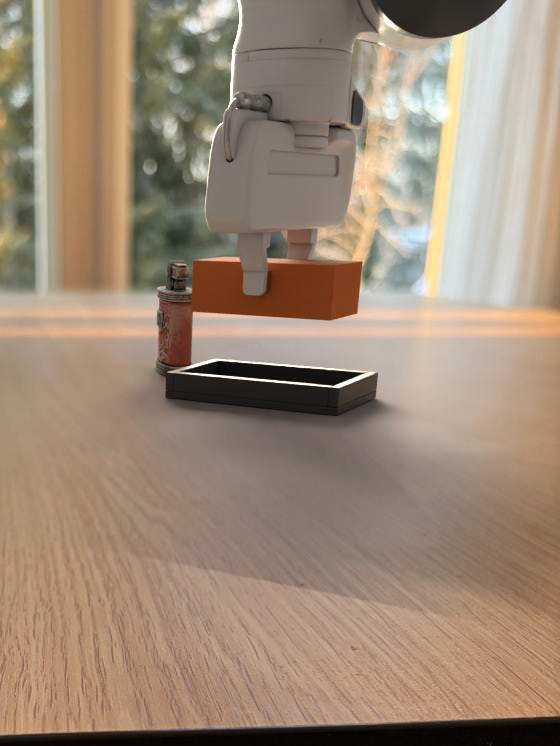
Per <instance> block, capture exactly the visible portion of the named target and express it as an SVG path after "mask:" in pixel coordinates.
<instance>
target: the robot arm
mask: <svg viewBox="0 0 560 746" xmlns="http://www.w3.org/2000/svg"><path fill="white" fill-rule="evenodd" d="M507 1H508V0H237V3H238V11H239V23H238V29H237V33H236V38H235V41H234V44H233V49H232V54H231V55H232V58H231V77H230V78H231V79H230V97H229V99H230V100H229V104H228V108H226V109H225V110H224V113H223V120H222V123H220V124H218V126H217V127H216V129H215V132H214V135H213V138H212V143H211V148H210V153H209V154H210V155H209V163H208V171H207V179H206V188H205V189H206V190H205V201H204V202H205V203H204V217H205V221H206V225H207V228H208V231H209V232H210V233H212V234H237V239H236V240H237V241H236V242H237V243H236V249H237V253H238V254H237V255H238V257H239V258H240V262H241V266H242V269H243V293H244V294H246V295H254V296H261V295H265V294H268V293H269V292H270V290H271V278H272V271H268V261H267V258H268V252H267V251H268V249H269V248H270V247H271V236H272V233H273V232H287V234H286V243H287V244H288V247H287V254H286V258H285V259H308V260H312V258H313V255H314V252H315V249H316V246H317V242H318V232H319V229H329V228H330V229H331V228H340V226H342V224H343V222H344V220H345V218H346V215H347V213H348V210H349V205H350V201H351V194H352V187H353V181H354V174H355V173H354V172H355V164H356V157H357V138H356V134H355V132H354V131H355V130H357V131H358V130H361V129H362V128H363V127H364V124H365V118H366V117H365V116H366V102H365V99H364V97H363V96H362V95H361V93H360V92H359V91H358V88H357V86H356V84H355V80H354V75H353V74H352V63H353V51H354V45H355V42H356V40H357V41H360V42H365V43H369V44H375V45H381V46H385V47H387V48H389V49H393V50H398V51H399V50H400V51H405V52H406V51H409V52H410V51H418V50H419V51H420V50H423V49H427V48H430V47H433V46H435V45H437V44H439V43H441V42H443V41H445V40H447V39H449V38H452V37H454V36H457V35H461V34H463V33H467V32H468V31H471V30H472V29H474V28H476V27H478V26H480V25H481V24H483V23H485V22H486V21H487V20H489V18H491V17H492V16H494V14H495V13H496V12H498V10H500V8H501V7H502V6H503V5H504V4H505V3H506V2H507Z"/></svg>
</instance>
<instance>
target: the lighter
mask: <svg viewBox="0 0 560 746" xmlns="http://www.w3.org/2000/svg"><path fill="white" fill-rule="evenodd" d="M189 271H190V269H189V266H188V265H187V262H186V260H168V261H167V263H166V280H165V286H157V288H156V296H157V298H158V308H157V309H156V326H157V327H158V329H157V331H158V332H157V333H158V336H157V356H156V357H155V370H156V372H158V373H159V374H161V375H164V376H166V372H169V371H173V370H176V369H180V368H184V367H187V366H191V365H194V362H193V360H192V353H193V352H192V351H193V325H194V324H193V323H194V319H193V318H194V312H191V301H192V287H187V280H189Z"/></svg>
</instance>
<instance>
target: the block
mask: <svg viewBox="0 0 560 746" xmlns="http://www.w3.org/2000/svg"><path fill="white" fill-rule="evenodd" d="M267 261H268V271H272V278H271V290H270V292H269V293H268V294H265V295H261V296H254V295H246V294H244V293H243V269H242V266H241V262H240V258H239V256H221V257H220V256H219V257H210V258H200V259H193V260H192V277H191V288H192V301H191V312H193V313H202V314H203V313H204V314H219V315H220V314H221V315H235V316H253V317H266V318H283V319H300V320H313V321H328V322H331V321H334V320H339V319H343V318H346V317H350V316H354V315H358V311H359V301H360V291H361V282H362V272H363V260H337V259H336V260H335V259H333V260H332V259H311V260H308V259H286V258H280V257H279V258H277V257H276V258H275V257H274V258H273V257H267Z"/></svg>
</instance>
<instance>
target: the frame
mask: <svg viewBox="0 0 560 746" xmlns="http://www.w3.org/2000/svg"><path fill="white" fill-rule="evenodd" d="M378 379H379V372H378V371H365V370H356V369H355V370H353V369H344V368H343V369H341V368H328V367H318V366H308V365H307V366H304V365H296V364H295V365H292V364H282V363H272V362H271V363H269V362H257V361H246V360H244V361H243V360H234V359H221V358H213V359H209V360H206V361H201V362H198V363H195V364H194V363H193V365H191V366H187V367H184V368H180V369H176V370H173V371H169V372H166V375H165V387H164V389H165V392H164V395H165V396H164V397H165V398H167V399H176V400H184V401H185V400H186V401H193V402H194V401H195V402H196V401H197V402H205V403H213V404H214V403H215V404H222V405H223V404H224V405H233V406H240V407H252V408H259V409H271V410H280V411H281V410H282V411H288V412H289V411H290V412H298V413H308V414H319V415H327V416H339V415H342V414H344V413H345V412H348V411H351V410H352V409H354V408H356V407H359V406H360V405H363V404H365V403H367V402H369V401H372V400H374V399H376V397H377V389H378V387H377V386H378V381H379V380H378Z"/></svg>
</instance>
